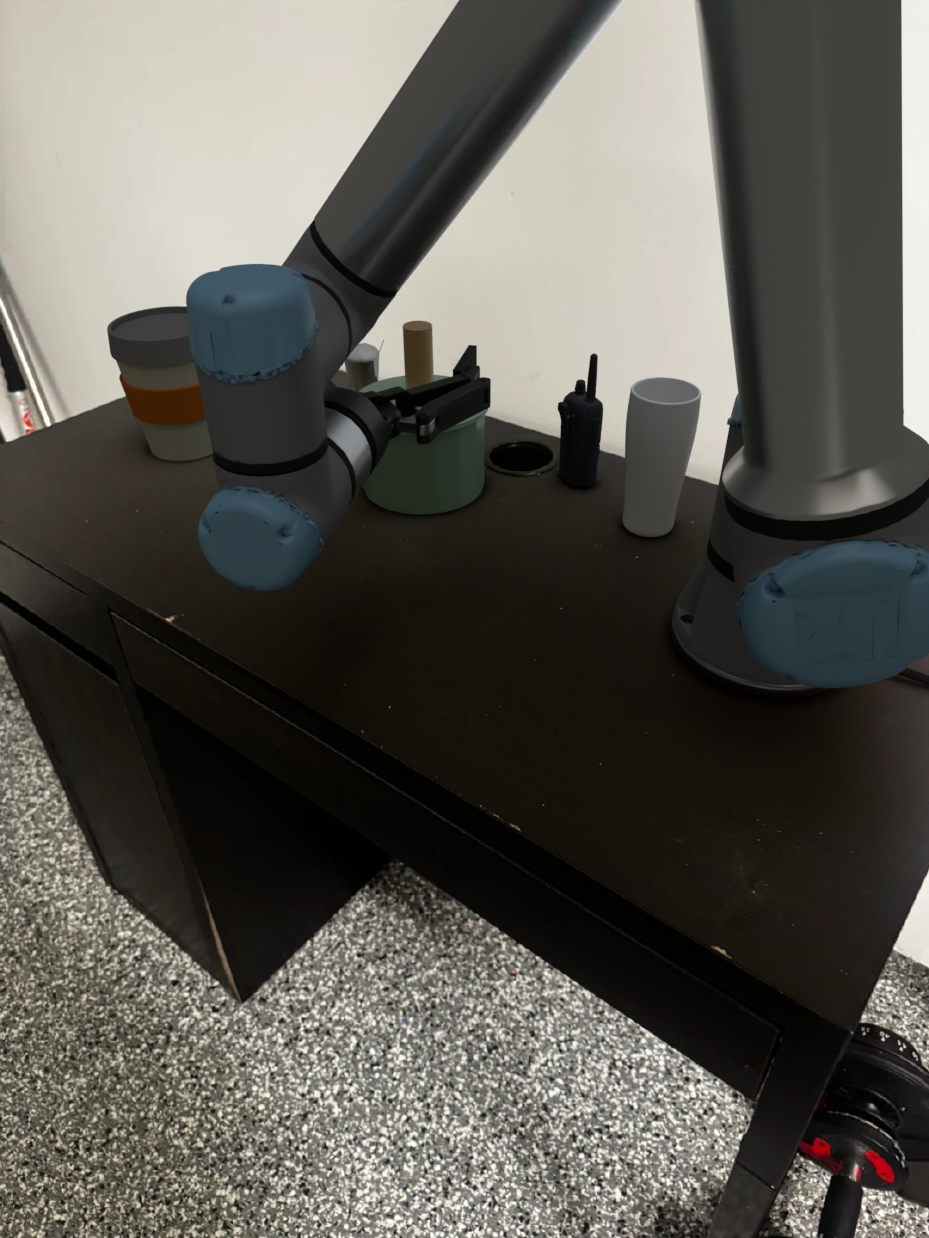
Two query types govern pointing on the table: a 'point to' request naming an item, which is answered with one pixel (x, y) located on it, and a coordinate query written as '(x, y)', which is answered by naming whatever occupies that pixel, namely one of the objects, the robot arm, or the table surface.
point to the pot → (430, 472)
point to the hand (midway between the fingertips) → (404, 353)
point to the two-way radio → (581, 431)
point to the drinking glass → (657, 452)
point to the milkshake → (362, 366)
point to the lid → (417, 366)
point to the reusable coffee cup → (161, 380)
